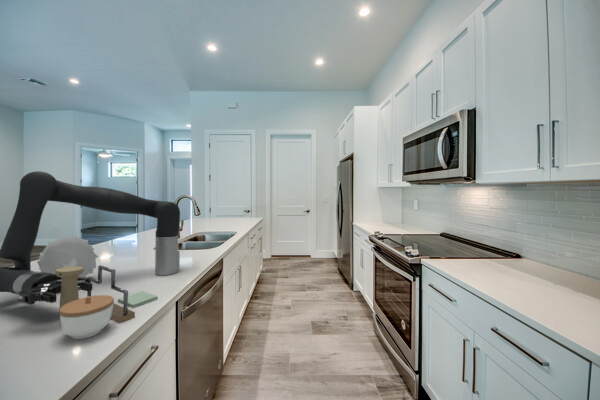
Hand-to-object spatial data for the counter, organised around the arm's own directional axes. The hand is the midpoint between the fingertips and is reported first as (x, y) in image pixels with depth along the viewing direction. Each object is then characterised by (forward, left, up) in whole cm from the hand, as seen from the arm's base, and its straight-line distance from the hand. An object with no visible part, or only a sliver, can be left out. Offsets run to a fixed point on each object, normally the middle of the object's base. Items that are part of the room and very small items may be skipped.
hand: (73, 292), depth 68 cm
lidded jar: (0, +9, -9) cm, 13 cm away
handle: (0, -2, -9) cm, 9 cm away
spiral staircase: (-15, -47, -9) cm, 50 cm away
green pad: (-17, 0, -9) cm, 19 cm away
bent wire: (-8, -1, -9) cm, 12 cm away
